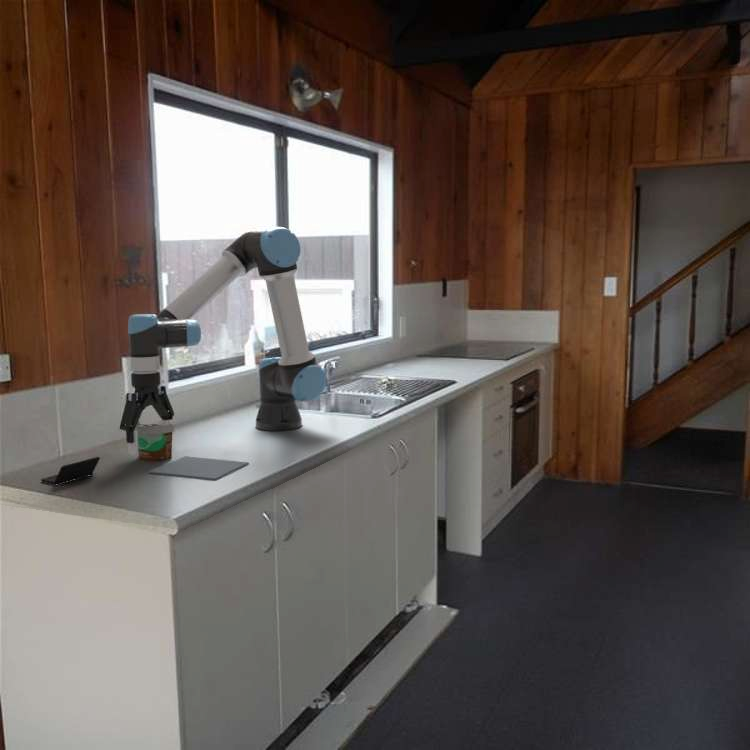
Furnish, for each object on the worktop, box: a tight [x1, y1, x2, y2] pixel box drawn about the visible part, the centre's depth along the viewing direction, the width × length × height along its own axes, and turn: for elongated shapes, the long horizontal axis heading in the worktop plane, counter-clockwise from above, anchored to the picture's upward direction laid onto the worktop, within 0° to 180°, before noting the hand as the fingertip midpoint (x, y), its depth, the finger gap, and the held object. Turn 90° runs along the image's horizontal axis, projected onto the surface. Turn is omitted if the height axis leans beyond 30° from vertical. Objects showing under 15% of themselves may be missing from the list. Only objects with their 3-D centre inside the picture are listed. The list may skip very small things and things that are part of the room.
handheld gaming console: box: [40, 456, 101, 486], centre depth 186 cm, size 12×7×10 cm
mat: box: [148, 455, 250, 481], centre depth 195 cm, size 16×20×1 cm
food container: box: [135, 420, 175, 463], centre depth 203 cm, size 12×6×10 cm, turn 68°
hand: (149, 448), depth 203 cm, fingers open, 13 cm apart
